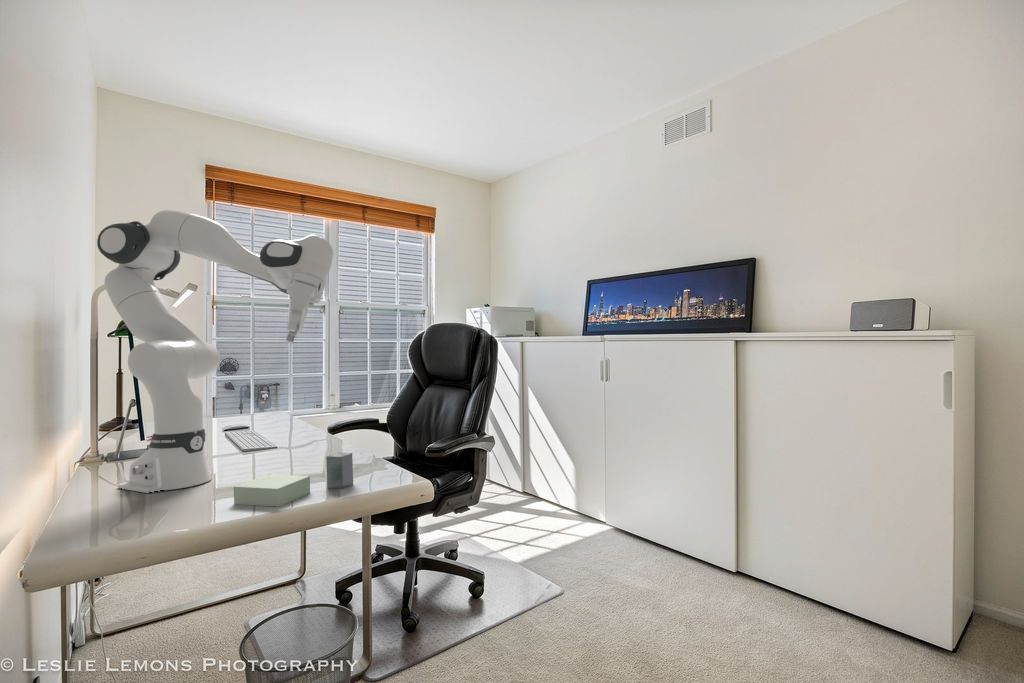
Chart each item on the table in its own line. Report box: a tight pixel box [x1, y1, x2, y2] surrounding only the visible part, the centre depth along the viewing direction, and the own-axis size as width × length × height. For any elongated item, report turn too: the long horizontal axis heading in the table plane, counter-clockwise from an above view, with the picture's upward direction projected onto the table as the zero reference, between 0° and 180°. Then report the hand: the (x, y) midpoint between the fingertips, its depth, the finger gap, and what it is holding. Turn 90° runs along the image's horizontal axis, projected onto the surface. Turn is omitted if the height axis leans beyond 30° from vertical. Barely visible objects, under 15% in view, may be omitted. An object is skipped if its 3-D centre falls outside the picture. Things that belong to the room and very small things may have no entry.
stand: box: [233, 474, 311, 508], centre depth 119 cm, size 12×11×4 cm
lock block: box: [325, 452, 354, 490], centre depth 128 cm, size 4×4×8 cm
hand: (290, 336), depth 130 cm, fingers open, 8 cm apart
